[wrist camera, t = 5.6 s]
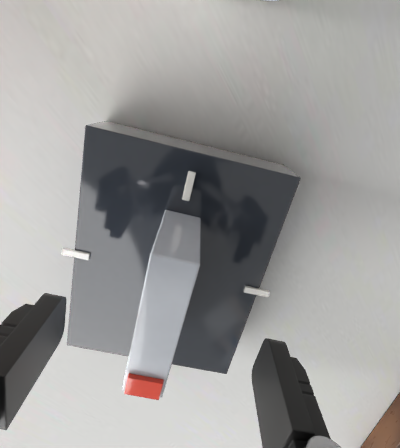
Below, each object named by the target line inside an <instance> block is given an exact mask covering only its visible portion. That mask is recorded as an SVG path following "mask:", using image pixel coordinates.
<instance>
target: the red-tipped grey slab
mask: <svg viewBox="0 0 400 448" xmlns="http://www.w3.org/2000/svg"><path fill="white" fill-rule="evenodd" d="M200 241H201V218H199V217H194V216H190V215H186V214H182V213H177V212H173V211H169V210H165V212H164V215H163V217H162V220H161V223H160V226H159V229H158V232H157V235H156V238H155V241H154V244H153V247H152V250H151V253H150V257H149V262H148V266H147V271H146V276H145V281H144V286H143V290H142V295H141V300H140V305H139V309H138V314H137V319H136V324H135V329H134V333H133V338H132V343H131V348H130V352H129V357H128V362H127V367H126V371H125V376H124V381H123V386H122V391H125V392H124V394H127V395H133V396H139V397H144V398H150V399H156V400H159V398H161V397H162V396H163V392H164V389H165V385H166V382H167V379H168V375H169V372H170V368H171V365H172V361H173V358H174V354H175V351H176V347H177V344H178V341H179V337H180V334H181V330H182V327H183V323H184V320H185V316H186V313H187V309H188V306H189V302H190V299H191V296H192V292H193V289H194V285H195V282H196V278H197V275H198V271H199V268H200Z"/></svg>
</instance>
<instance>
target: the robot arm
mask: <svg viewBox="0 0 400 448" xmlns="http://www.w3.org/2000/svg"><path fill="white" fill-rule="evenodd" d="M65 312H66V297H62V296H57V295H52V294H48V293H45V294H43V295H42V296H41V298H40V299H39V300H38V301H37V302H36V304H35V305H29V304H25V305H23V306H21V307H20V308H18V309H16V310H14V311H13V312H11V313H10V315H9V316H8V317H7V318H6V319H5V320H4V321H3V322H2V324H1V325H0V429H4V430H7V428H8V427H9V425H10V423H11V422H12V420H13V418H14V417H15V415H16V413H17V412H18V410H19V409H20V407H21V405H22V404H23V402H24V400H25V399H26V397H27V395H28V394H29V392H30V390H31V389H32V387H33V385H34V384H35V382H36V380H37V379H38V377H39V376H40V374H41V372H42V371H43V369H44V367H45V366H46V364H47V362H48V361H49V359H50V357H51V356H52V354H53V352H54V351H55V349H56V348H57V346H58V344H59V342H60V340H61V338H62V335H63V331H64V325H65ZM252 384H253V390H254V397H255V403H256V409H257V415H258V421H259V427H260V433H261V440H262V446H263V448H341V447H340V446H339V445H338V444H337V443H335V442H334V441H332V440H331V439H330V436H329V433H328V431H327V428H326V425H325V423H324V420H323V417H322V414H321V412H320V409H319V406H318V403H317V401H316V398H315V396H314V393H313V390H312V387H311V385H310V382H309V379H308V376H307V374H306V371H305V369H304V368H303V366H302V365H301V364H300V362H299V361H298V360H297V358H293V357H290V354H289V351H288V348H287V345H286V343H285V342H282V341H277V340H272V339H267V338H266V339H265V340H264V341H263V344H262V346H261V348H260V351H259V353H258V356H257V358H256V360H255V363H254V365H253V370H252Z"/></svg>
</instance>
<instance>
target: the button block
mask: <svg viewBox="0 0 400 448" xmlns="http://www.w3.org/2000/svg"><path fill="white" fill-rule="evenodd" d="M361 448H400V393H399V395H398V396H397V397H396V399H395V400H394V402H393V403H392V404H391V406H390V407H389V409H388V410H387V411H386V413H385V414H384V416H383V417H382V418H381V420H380V421H379V423H378V424H377V425H376V427H375V428H374V429H373V431H372V432H371V434H370V435H369V436H368V438H367V439H366V441H365V442H364V443H363V445H362V446H361Z"/></svg>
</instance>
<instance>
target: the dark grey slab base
mask: <svg viewBox="0 0 400 448" xmlns="http://www.w3.org/2000/svg"><path fill="white" fill-rule="evenodd" d="M300 179H301V178H300V177H299V176H298V175H296V174H295V173H294V172H293V171H291V170H290V169H289V168H287V167H286V166H285V165H283V164H279V163H275V162H271V161H267V160H263V159H259V158H255V157H251V156H247V155H243V154H238V153H234V152H230V151H226V150H222V149H218V148H214V147H210V146H206V145H202V144H198V143H194V142H190V141H186V140H182V139H178V138H174V137H170V136H166V135H162V134H158V133H154V132H150V131H146V130H142V129H137V128H133V127H129V126H125V125H121V124H117V123H113V122H109V121H104V122H99V123H94V124H89V125H86V127H85V139H84V151H83V162H82V174H81V186H80V197H79V209H78V221H77V233H76V244H75V250H72V249H68V248H62V252H61V255H65V256H70V257H74V268H73V279H72V291H71V303H70V315H69V326H68V338H67V345H69V346H75V347H80V348H86V349H91V350H97V351H102V352H108V353H113V354H119V355H124V356H129V352H130V348H131V343H132V338H133V333H134V329H135V324H136V319H137V314H138V309H139V305H140V300H141V295H142V290H143V286H144V281H145V276H146V271H147V266H148V262H149V257H150V253H151V250H152V247H153V244H154V241H155V238H156V235H157V232H158V229H159V226H160V223H161V220H162V217H163V215H164V212H165V210H169V211H173V212H177V213H182V214H186V215H190V216H194V217H199V218H201V241H200V268H199V271H198V275H197V278H196V282H195V285H194V289H193V292H192V296H191V299H190V302H189V306H188V309H187V313H186V316H185V320H184V323H183V327H182V330H181V334H180V337H179V341H178V344H177V347H176V351H175V354H174V358H173V361H172V364H174V365H179V366H185V367H190V368H196V369H201V370H207V371H212V372H218V373H224V374H227V371H228V368H229V366H230V363H231V361H232V358H233V355H234V353H235V350H236V347H237V345H238V342H239V339H240V337H241V334H242V332H243V329H244V326H245V324H246V321H247V318H248V316H249V313H250V310H251V308H252V305H253V303H254V300H255V297H256V295H259V296H264V297H269V294H270V291H269V290H264V289H259V287H260V284H261V281H262V279H263V276H264V274H265V271H266V268H267V266H268V263H269V260H270V258H271V255H272V252H273V250H274V247H275V245H276V242H277V239H278V237H279V234H280V231H281V229H282V226H283V223H284V221H285V218H286V216H287V213H288V210H289V208H290V205H291V202H292V200H293V197H294V195H295V192H296V189H297V187H298V184H299V181H300Z"/></svg>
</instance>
